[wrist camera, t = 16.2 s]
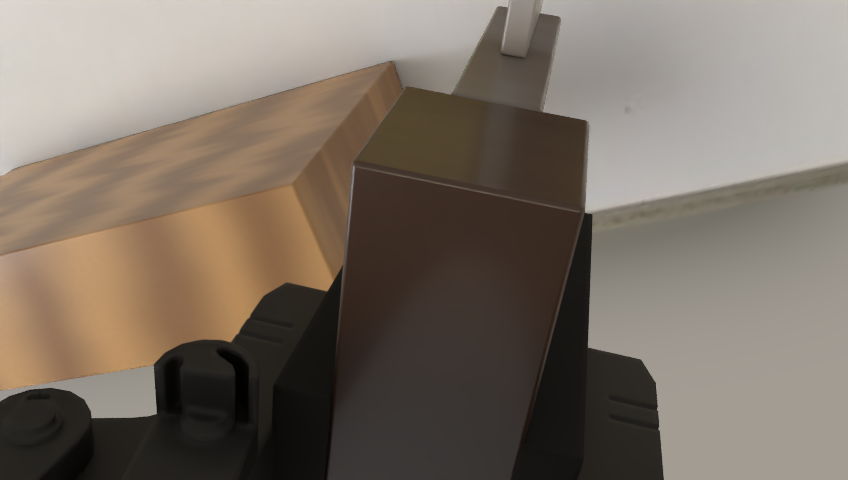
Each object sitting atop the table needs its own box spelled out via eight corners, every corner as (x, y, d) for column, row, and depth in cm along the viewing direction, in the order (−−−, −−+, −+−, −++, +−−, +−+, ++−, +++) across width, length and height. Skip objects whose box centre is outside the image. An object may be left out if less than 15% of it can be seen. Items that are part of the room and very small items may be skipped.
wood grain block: (65, 256, 47) (-116, 410, 36) (13, 168, 45) (-200, 303, 33) (432, 171, 40) (357, 332, 28) (392, 60, 37) (292, 184, 25)
